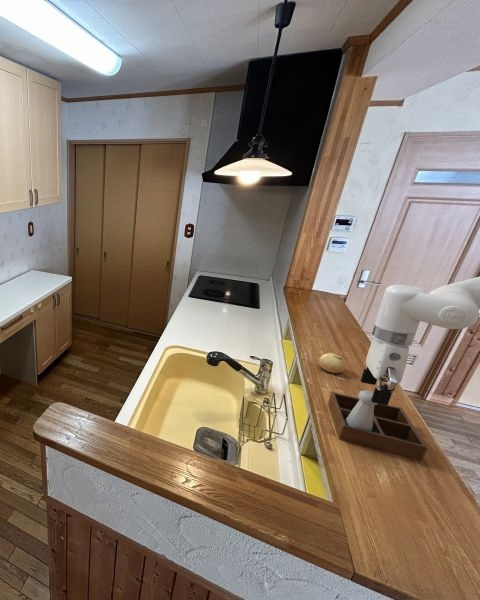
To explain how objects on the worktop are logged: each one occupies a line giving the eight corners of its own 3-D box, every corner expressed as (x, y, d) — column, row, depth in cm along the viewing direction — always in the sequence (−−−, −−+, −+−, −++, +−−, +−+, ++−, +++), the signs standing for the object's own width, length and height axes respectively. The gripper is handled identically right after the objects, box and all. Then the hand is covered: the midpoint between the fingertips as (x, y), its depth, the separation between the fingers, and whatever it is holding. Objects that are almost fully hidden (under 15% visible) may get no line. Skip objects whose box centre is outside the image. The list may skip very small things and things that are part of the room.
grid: (327, 403, 103) (331, 391, 102) (396, 420, 96) (401, 408, 94) (339, 439, 89) (343, 425, 88) (420, 461, 82) (427, 447, 80)
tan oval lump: (318, 372, 120) (323, 355, 118) (315, 362, 127) (319, 346, 124) (344, 378, 117) (350, 361, 114) (340, 367, 123) (345, 351, 121)
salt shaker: (349, 437, 89) (363, 398, 84) (338, 423, 94) (351, 385, 89) (374, 441, 87) (390, 401, 83) (362, 426, 93) (376, 388, 88)
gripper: (428, 353, 71) (404, 416, 77) (399, 324, 86) (380, 379, 91) (384, 346, 74) (364, 407, 80) (363, 319, 89) (347, 373, 95)
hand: (373, 392), depth 86 cm, fingers open, 9 cm apart
